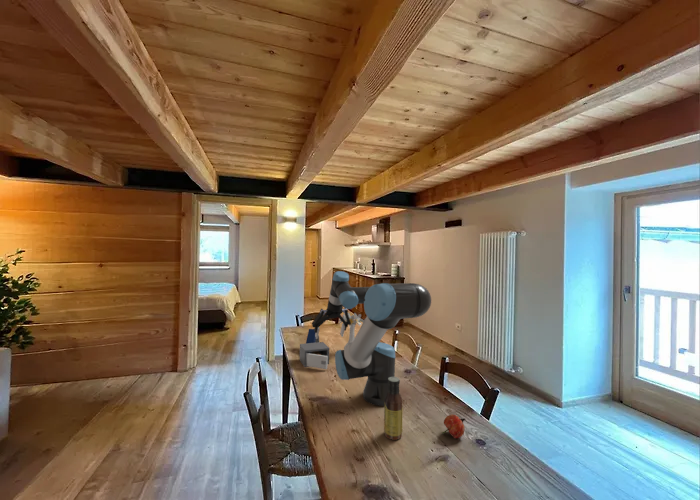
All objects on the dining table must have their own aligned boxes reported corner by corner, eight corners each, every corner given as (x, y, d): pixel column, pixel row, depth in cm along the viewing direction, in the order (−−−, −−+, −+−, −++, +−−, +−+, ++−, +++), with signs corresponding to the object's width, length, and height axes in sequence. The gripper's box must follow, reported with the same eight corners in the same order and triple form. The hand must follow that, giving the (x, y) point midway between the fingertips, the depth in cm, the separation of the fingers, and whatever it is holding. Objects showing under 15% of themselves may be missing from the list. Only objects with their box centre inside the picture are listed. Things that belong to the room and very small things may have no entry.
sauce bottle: (390, 428, 110) (391, 373, 110) (405, 435, 106) (407, 378, 106) (379, 436, 105) (381, 378, 105) (395, 444, 101) (397, 384, 101)
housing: (329, 364, 170) (329, 348, 170) (304, 367, 165) (304, 350, 165) (322, 357, 181) (323, 341, 181) (299, 359, 176) (299, 344, 176)
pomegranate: (446, 448, 103) (472, 434, 101) (433, 427, 105) (458, 413, 103) (448, 438, 110) (472, 425, 108) (435, 418, 112) (459, 405, 110)
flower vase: (370, 355, 186) (371, 314, 186) (342, 359, 179) (343, 316, 179) (361, 349, 198) (362, 310, 198) (334, 352, 191) (335, 312, 191)
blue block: (319, 345, 204) (318, 325, 199) (313, 365, 185) (311, 344, 180) (311, 344, 204) (310, 325, 200) (303, 364, 186) (302, 343, 181)
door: (326, 369, 160) (326, 356, 160) (304, 366, 164) (305, 353, 164) (327, 368, 161) (327, 356, 161) (306, 365, 165) (306, 353, 165)
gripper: (356, 296, 157) (349, 329, 165) (309, 297, 147) (303, 332, 155) (362, 304, 150) (353, 339, 159) (313, 306, 141) (306, 343, 149)
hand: (329, 336), depth 157 cm, fingers open, 13 cm apart
